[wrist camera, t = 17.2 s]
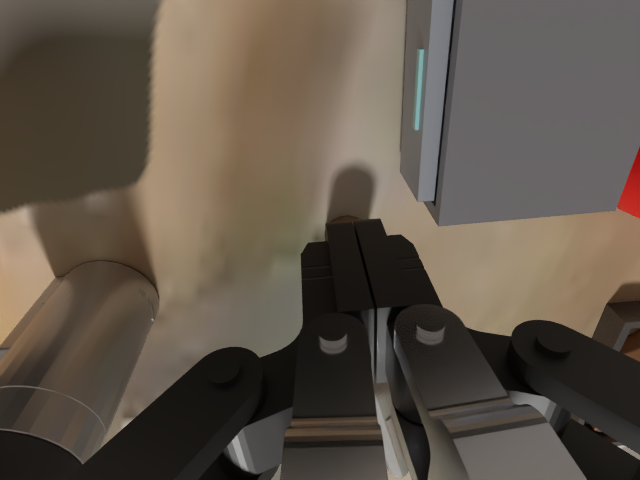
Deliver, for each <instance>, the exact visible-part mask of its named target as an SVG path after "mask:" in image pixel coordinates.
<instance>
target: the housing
mask: <svg viewBox="0 0 640 480" xmlns="http://www.w3.org/2000/svg"><path fill="white" fill-rule="evenodd" d="M639 147H640V0H456V9H455V19H454V29H453V38H452V48H451V58H450V68H449V78H448V88H447V98H446V107H445V117H444V127H443V137H442V147H441V157H440V167H439V176H436V185H435V195H434V201H423V202H424V204H425V205H426V207H427V209H428V210H429V212H430V214H431V215H432V217H433V219H434V220H435V222H436V223H437V225H438V226H448V225H459V224H471V223H482V222H493V221H504V220H516V219H527V218H538V217H549V216H561V215H572V214H583V213H594V212H605V211H615V210H616V207H617V205H618V202H619V200H620V197H621V194H622V192H623V189H624V186H625V184H626V181H627V179H628V176H629V173H630V171H631V168H632V165H633V163H634V160H635V157H636V155H637V152H638V150H639Z"/></svg>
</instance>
